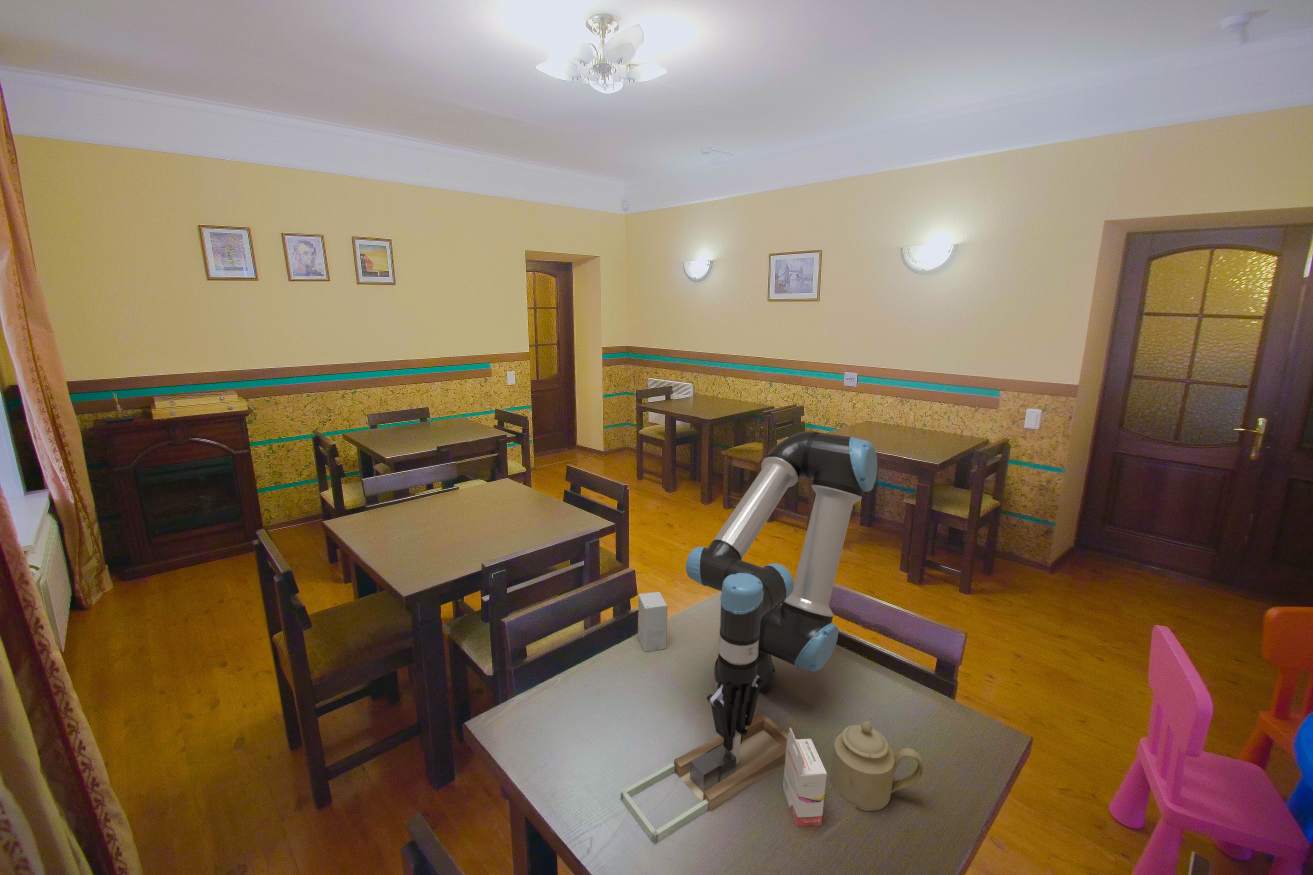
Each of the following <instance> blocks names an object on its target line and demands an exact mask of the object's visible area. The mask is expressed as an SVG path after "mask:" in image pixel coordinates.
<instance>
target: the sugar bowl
mask: <svg viewBox="0 0 1313 875" xmlns="http://www.w3.org/2000/svg"><path fill="white" fill-rule="evenodd" d="M905 758H912V759H914V760H915V761H916V762H917V768H916V769H915V771H913V773H912V774H910V775H908V776H906V777H904V778H901V779H896V780H894V776H895V773H896V770H897V769H898V767H899V765H900V762H901V761H902V760H903V759H905ZM924 768H925V766H924V762H923V758H922V756H921V755H920V754H919V752H917V751H916V750H915V749H913V748H910V747H904V748H902V749H900V750H899V751H897V753H896V754H894V752H893V750H892V748H891V747H890V746H889V743H888V741H887V738H886V737H885V736H884V735H883V734H882V733H881V732H880V731H878V730H876V729H874V728H873V726H872V723H871V722H870V721H869V720H865V721H863V722H862V723H861V724H853V725H848V726H847V727H845V728H844V729H843V730H842V732H841V733H839V734H838V735H837V736H836V737H835V740H834V744H833V751H832V761H831V774H830V775H831V776H830V777H831V778H830V779H831V783H832V784H833V787H834V788H835V790H836V792H838V794H840V796H842V797H843V798H844V799H845V800H847V801H848V802H850V803H852V804H854V805H857V806H856V807H855V809H856V810H861V811H866V812H876V811H880V810H882V809H884V808H885V807H887V805H888V804H889V802H890V799H891V794H892V793H895V792H896V791H898V790H903V789H905V788H908V787H912V786H913V785H914V784H916V783H917V782H918V781H919V780H920V779H921V777H922V775H923V772H924Z"/></svg>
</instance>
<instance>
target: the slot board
mask: <svg viewBox="0 0 1313 875" xmlns="http://www.w3.org/2000/svg"><path fill="white" fill-rule="evenodd" d="M745 729H746V730H747V731H748V732H747V734H746V735H743V737H742V744H741V745H740V759H739V763H738V764H736V772H735V773H734V774H732V775H731V776H729V777H727V778H726V779H724V780H722V781H721V782H719V783H717V784H716V785H714V786H713V787H711V788H709V789H708V790H706V791H704V792H702V791H701V790H700V789H699V788H698V787H697V786H696V784H695V783H694V782H693V781H692V780H691V779H690V761H691V760H693V759H695V758H697V757H699V756H700V755H702V754H704V753H706V752H707V753H708V752H710V751H712V750H714V749H715V748H717V747H719V746H721V745H722V744H723V743H724V738H723V737H722V736H720V735H719V734H718V735H717V736H715V737H713V738H712V739H710V740H708V741H706V742H704V743H703V744H701V745H699V746H697V747H695V748H693V749H691V750H690V751H688V752H687V753H685V754H683V755H680V756H679V757H677V758H676V759H674V761H673V764H674V765H675V772H674V773H675V775H677V777H679V779H680V780H681V781H682V783H684V784H685V785H686V786H687V788H689V790H690V791H691V792H692V793H693V794H694V795H695V796H696V798H698V800H699V801H700V803H701V802H702V801H704V800H705V799H706V800H707V801H708V802H709V804H708V810H707V811H709V812H712V810H714V809H717V808H718V807H719V806H721V805H722V804H724V803H725V802H727V801H729V800H730V799H731V798H733V797H735V796H736V795H737V794H738V795H739V794H740V793H741V792H743V791H744V790H746V789H747V788H749V787H750V786H752V785H753V784H755V783H757V781H759V780H761V779H762V778H764V777H765V776H767V775H769V774H771V773H772V772H774V771H775V770H777V769H778V768H779V767H782V766H783V765H785V757H786V745H787V739H788V734H789V733H788V732H787V731H786V730H784V729H782V728H781V727H780V726H779V725H778V724H776V723H775V722H774V721H773V720H772V719H770V717H767V715H765V714H764V713H763V712H759V713H757V714H754V715H753V719H752V723H751V725H750V726H746V727H745Z"/></svg>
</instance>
